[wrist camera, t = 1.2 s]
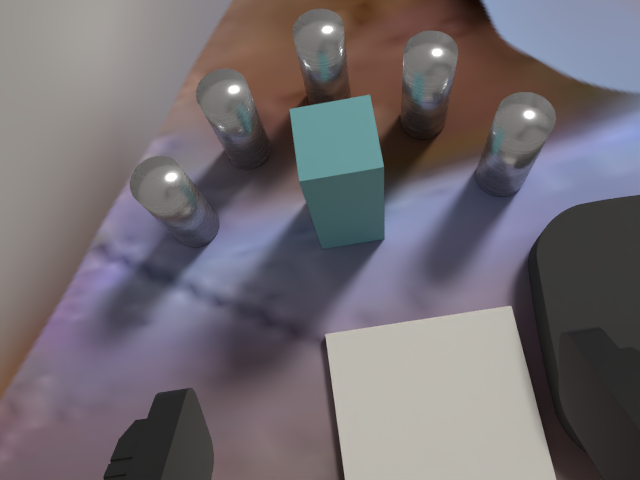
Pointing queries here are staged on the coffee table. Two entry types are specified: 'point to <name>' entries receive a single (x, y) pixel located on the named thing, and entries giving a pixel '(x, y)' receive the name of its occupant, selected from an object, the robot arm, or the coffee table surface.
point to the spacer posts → (331, 85)
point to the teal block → (341, 170)
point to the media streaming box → (587, 280)
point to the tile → (437, 401)
